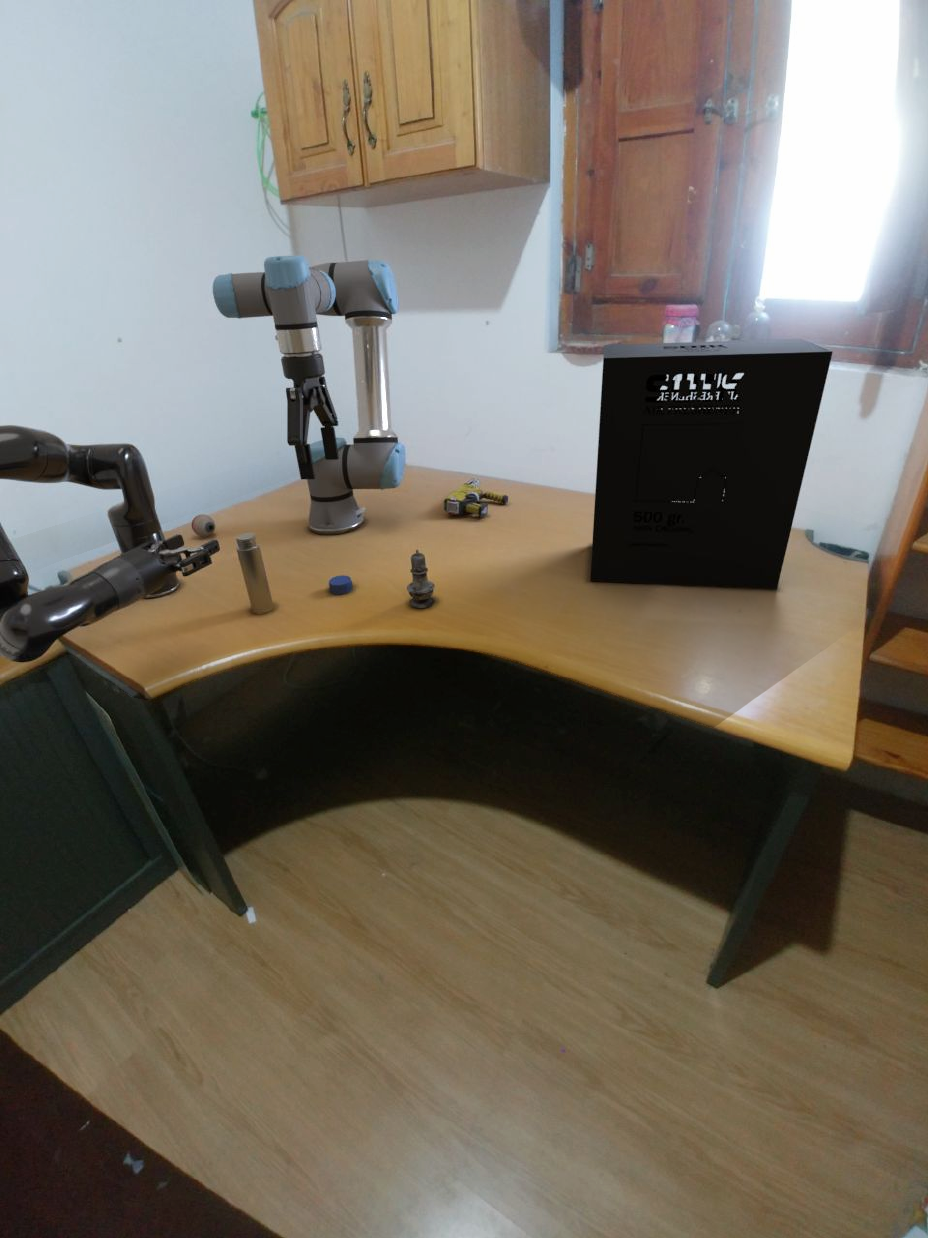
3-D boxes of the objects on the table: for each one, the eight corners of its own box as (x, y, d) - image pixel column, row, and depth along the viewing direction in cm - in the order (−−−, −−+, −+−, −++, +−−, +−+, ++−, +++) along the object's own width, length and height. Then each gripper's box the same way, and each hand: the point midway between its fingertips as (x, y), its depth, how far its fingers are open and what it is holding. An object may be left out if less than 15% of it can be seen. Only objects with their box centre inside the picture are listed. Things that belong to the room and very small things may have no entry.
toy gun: (516, 483, 183) (470, 476, 187) (493, 506, 163) (442, 498, 167) (515, 498, 186) (469, 491, 190) (492, 523, 166) (441, 514, 170)
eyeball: (204, 541, 163) (198, 520, 160) (190, 537, 166) (184, 517, 163) (223, 533, 168) (217, 513, 165) (208, 530, 171) (202, 510, 168)
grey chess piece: (432, 609, 124) (427, 555, 118) (404, 607, 125) (398, 554, 119) (439, 596, 129) (434, 544, 123) (412, 594, 130) (407, 543, 124)
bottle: (259, 616, 126) (241, 542, 117) (248, 610, 128) (229, 537, 120) (278, 607, 128) (260, 535, 120) (266, 601, 131) (248, 530, 123)
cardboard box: (756, 549, 141) (800, 338, 118) (776, 589, 124) (832, 351, 101) (592, 544, 148) (604, 344, 126) (590, 580, 131) (603, 357, 109)
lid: (342, 582, 137) (341, 573, 136) (357, 588, 135) (355, 578, 133) (325, 590, 134) (323, 581, 133) (340, 596, 131) (338, 587, 130)
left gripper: (150, 564, 92) (224, 526, 105) (86, 553, 97) (164, 518, 110) (165, 606, 96) (235, 565, 109) (102, 594, 101) (176, 556, 114)
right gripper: (307, 346, 122) (324, 452, 132) (251, 364, 100) (277, 488, 111) (342, 345, 120) (357, 451, 131) (293, 362, 99) (316, 488, 110)
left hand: (199, 541), depth 109 cm, fingers open, 8 cm apart
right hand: (320, 468), depth 121 cm, fingers open, 13 cm apart
